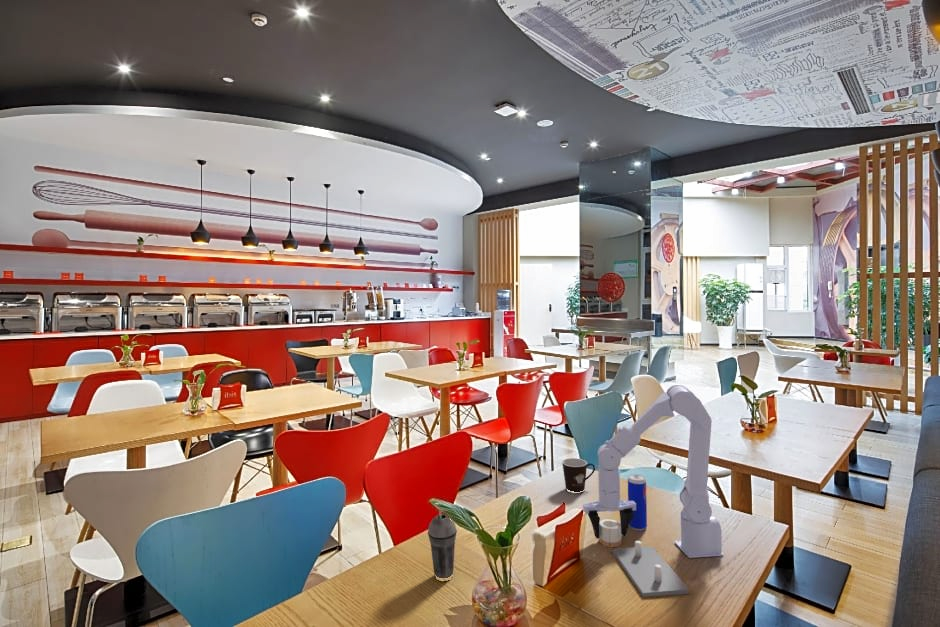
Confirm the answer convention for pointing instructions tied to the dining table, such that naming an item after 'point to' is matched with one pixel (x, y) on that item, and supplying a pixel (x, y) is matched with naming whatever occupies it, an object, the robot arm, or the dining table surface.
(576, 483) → the coffee mug
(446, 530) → the beverage cup
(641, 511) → the beverage can
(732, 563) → the dining table surface
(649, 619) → the dining table surface
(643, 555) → the pin board
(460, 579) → the dining table surface
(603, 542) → the sleeve
